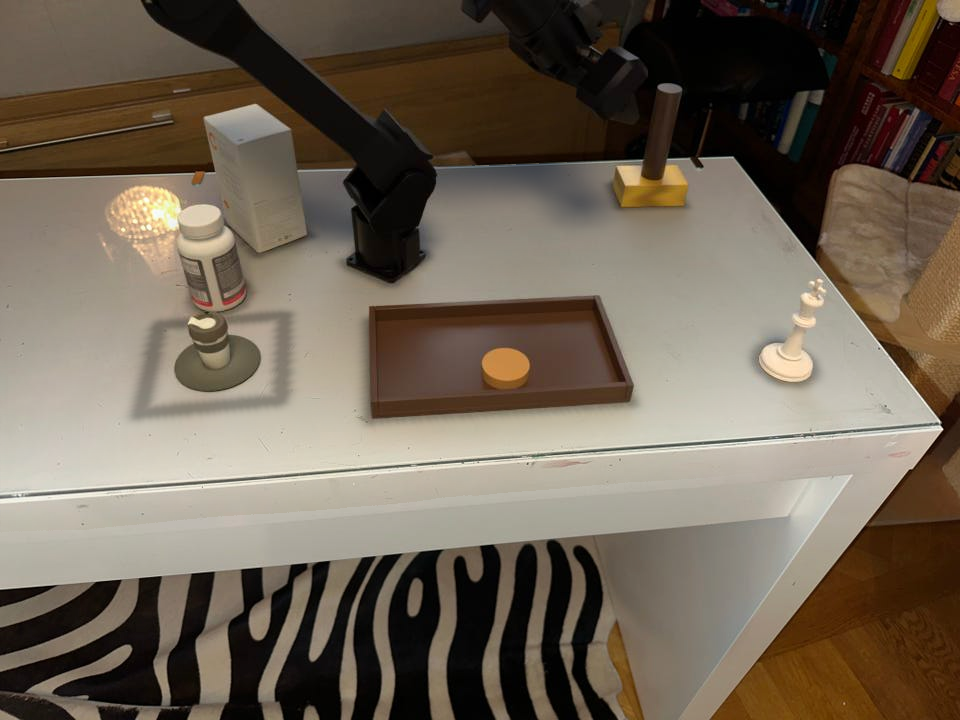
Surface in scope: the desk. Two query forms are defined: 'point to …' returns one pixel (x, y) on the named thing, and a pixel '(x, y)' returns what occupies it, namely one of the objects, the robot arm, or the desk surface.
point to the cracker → (505, 368)
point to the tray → (480, 329)
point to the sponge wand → (655, 160)
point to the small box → (257, 176)
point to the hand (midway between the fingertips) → (611, 103)
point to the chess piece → (795, 341)
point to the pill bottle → (209, 259)
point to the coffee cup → (215, 355)
